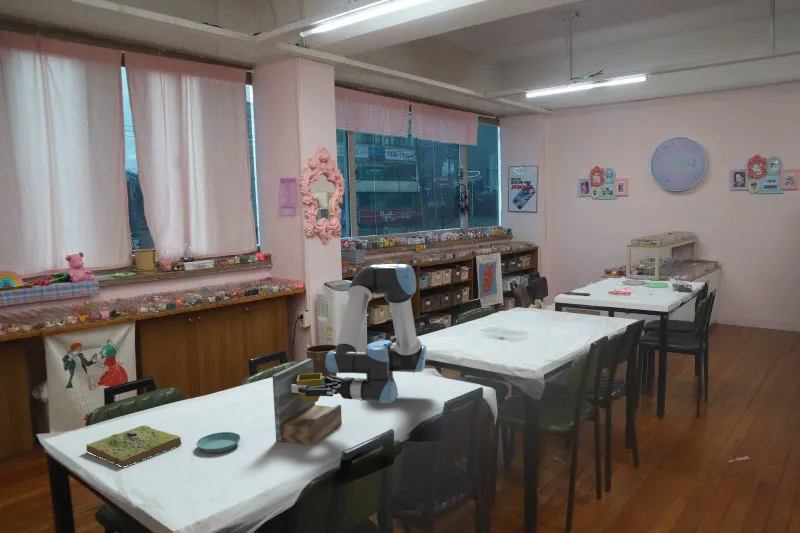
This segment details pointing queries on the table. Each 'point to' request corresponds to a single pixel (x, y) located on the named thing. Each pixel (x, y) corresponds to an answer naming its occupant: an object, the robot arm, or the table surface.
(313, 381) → the flower pot
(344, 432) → the table surface
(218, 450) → the saucer
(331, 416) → the book stand
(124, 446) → the miniature landscape model
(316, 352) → the plant pot
